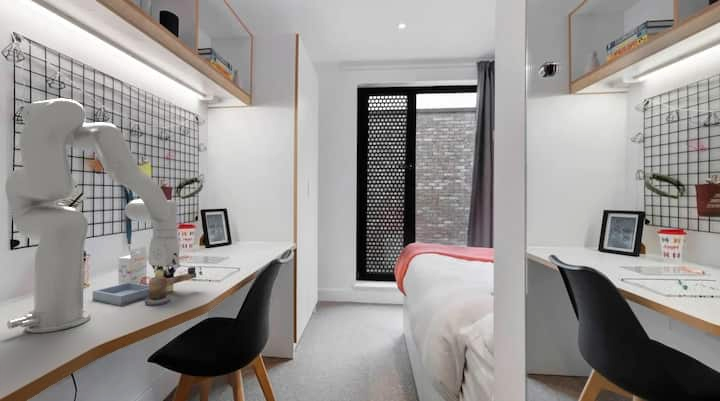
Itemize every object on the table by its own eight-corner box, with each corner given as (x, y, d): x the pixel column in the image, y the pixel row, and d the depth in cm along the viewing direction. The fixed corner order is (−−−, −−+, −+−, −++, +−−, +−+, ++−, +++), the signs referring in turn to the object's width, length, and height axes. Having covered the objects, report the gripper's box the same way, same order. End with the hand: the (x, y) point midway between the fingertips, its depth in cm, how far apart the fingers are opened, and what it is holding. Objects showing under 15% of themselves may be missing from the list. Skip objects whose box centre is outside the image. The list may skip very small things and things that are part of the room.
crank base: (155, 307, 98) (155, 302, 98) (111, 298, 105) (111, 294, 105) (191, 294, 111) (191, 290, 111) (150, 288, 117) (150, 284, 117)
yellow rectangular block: (163, 293, 111) (163, 271, 111) (155, 292, 113) (155, 270, 113) (173, 290, 115) (173, 268, 115) (165, 289, 116) (165, 267, 116)
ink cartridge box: (134, 282, 124) (135, 245, 124) (146, 283, 124) (147, 246, 123) (117, 289, 115) (117, 249, 115) (130, 289, 115) (131, 249, 115)
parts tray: (120, 305, 99) (121, 296, 98) (92, 300, 103) (92, 291, 103) (155, 295, 109) (155, 286, 109) (128, 290, 114) (129, 282, 114)
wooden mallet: (156, 299, 99) (156, 278, 99) (145, 297, 101) (145, 276, 101) (199, 286, 115) (199, 267, 115) (188, 284, 117) (189, 266, 117)
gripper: (138, 233, 113) (137, 284, 113) (172, 236, 107) (172, 289, 107) (158, 231, 120) (157, 279, 120) (191, 234, 114) (190, 284, 115)
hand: (164, 283), depth 114 cm, fingers closed on yellow rectangular block, 4 cm apart
